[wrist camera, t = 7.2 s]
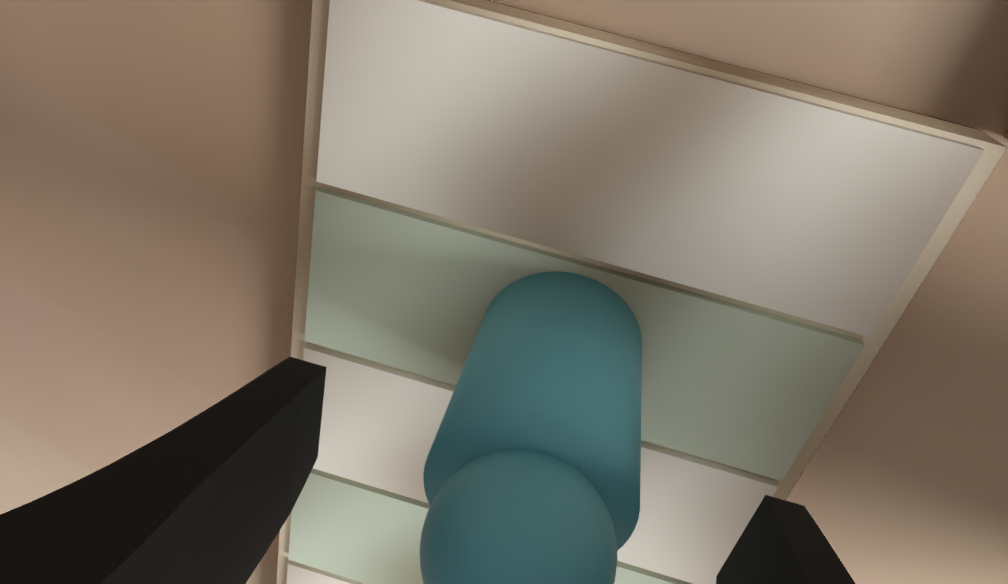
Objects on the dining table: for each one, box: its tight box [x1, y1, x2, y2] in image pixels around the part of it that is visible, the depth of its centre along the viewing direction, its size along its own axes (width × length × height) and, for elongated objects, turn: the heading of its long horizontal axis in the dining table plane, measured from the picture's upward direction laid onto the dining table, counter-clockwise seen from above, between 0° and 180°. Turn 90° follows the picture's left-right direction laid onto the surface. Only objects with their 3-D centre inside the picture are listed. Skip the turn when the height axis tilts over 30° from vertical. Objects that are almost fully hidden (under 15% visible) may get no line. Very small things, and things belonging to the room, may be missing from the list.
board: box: [276, 0, 1008, 584], centre depth 14 cm, size 14×31×1 cm, turn 168°
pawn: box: [420, 271, 642, 584], centre depth 11 cm, size 3×3×7 cm
